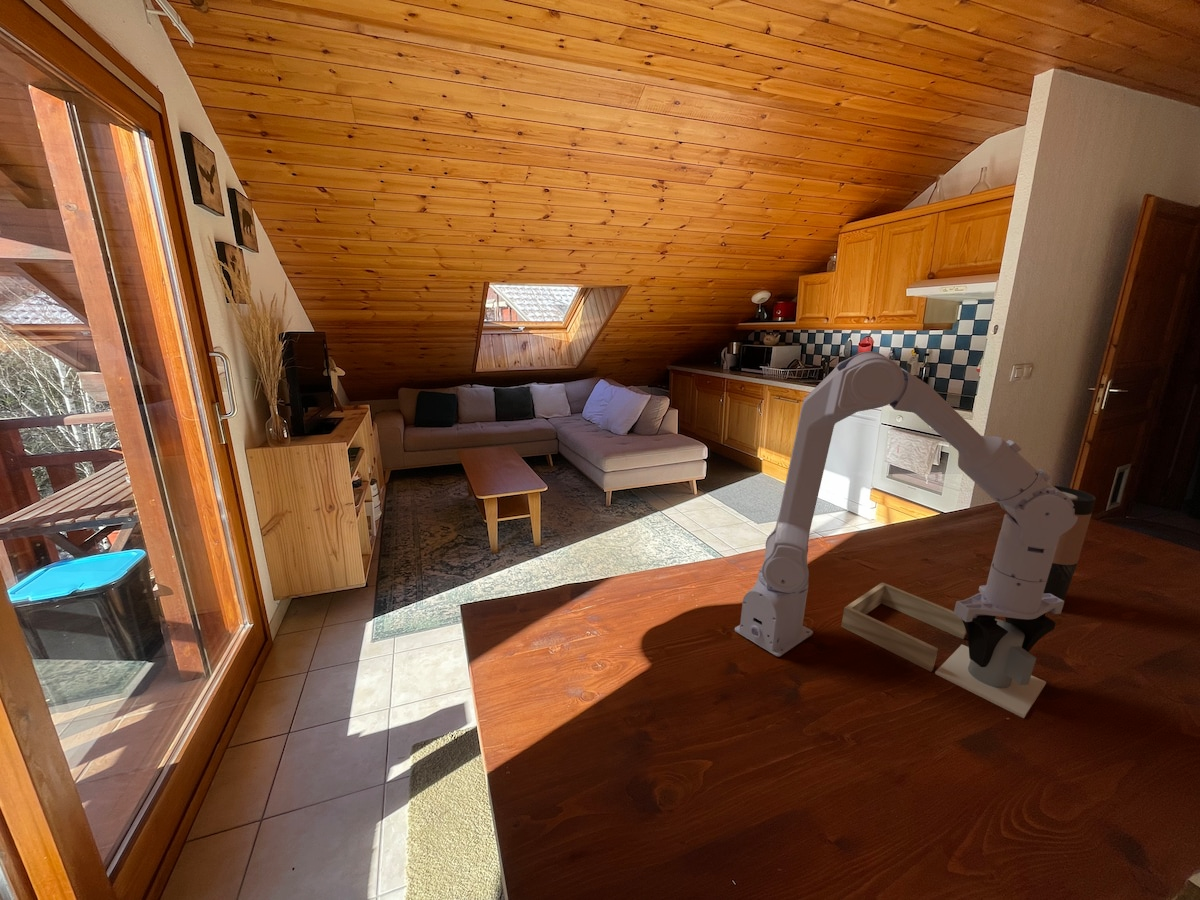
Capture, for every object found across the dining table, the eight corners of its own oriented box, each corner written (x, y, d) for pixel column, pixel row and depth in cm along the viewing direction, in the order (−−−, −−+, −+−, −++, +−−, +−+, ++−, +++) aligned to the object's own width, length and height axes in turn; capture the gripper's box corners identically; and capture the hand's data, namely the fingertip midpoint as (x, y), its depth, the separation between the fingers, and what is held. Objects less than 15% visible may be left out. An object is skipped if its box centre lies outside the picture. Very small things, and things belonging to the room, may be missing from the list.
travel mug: (1043, 588, 94) (1072, 486, 89) (1075, 612, 87) (1110, 502, 82) (998, 585, 95) (1025, 483, 90) (1027, 609, 88) (1058, 499, 82)
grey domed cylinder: (959, 664, 73) (971, 618, 71) (990, 663, 73) (1002, 617, 71) (1002, 702, 66) (1016, 652, 64) (1036, 699, 67) (1051, 650, 65)
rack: (931, 671, 72) (936, 650, 71) (841, 626, 82) (844, 607, 81) (964, 637, 80) (969, 617, 79) (878, 600, 90) (882, 582, 89)
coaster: (1023, 718, 64) (1024, 715, 64) (935, 673, 72) (935, 671, 71) (1045, 684, 70) (1046, 681, 70) (961, 646, 78) (961, 644, 77)
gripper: (1036, 553, 71) (1013, 637, 75) (944, 559, 69) (925, 646, 73) (1091, 579, 64) (1062, 670, 68) (991, 587, 62) (966, 681, 66)
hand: (994, 660), depth 70 cm, fingers closed on grey domed cylinder, 5 cm apart
